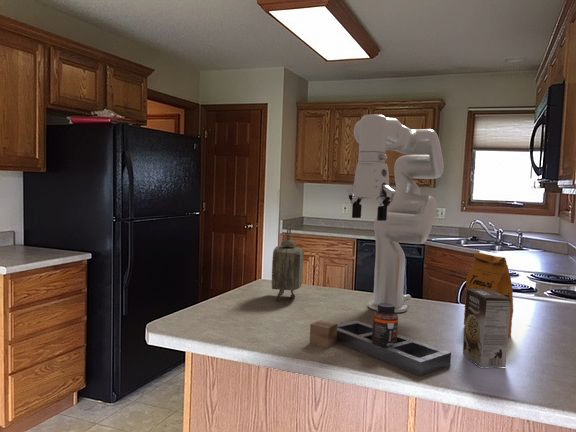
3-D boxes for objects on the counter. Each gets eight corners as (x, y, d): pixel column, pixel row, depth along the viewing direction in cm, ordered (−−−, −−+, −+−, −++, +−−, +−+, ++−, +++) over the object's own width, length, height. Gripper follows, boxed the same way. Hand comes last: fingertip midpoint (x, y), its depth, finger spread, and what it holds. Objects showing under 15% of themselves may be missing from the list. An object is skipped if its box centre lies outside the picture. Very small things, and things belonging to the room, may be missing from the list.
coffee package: (487, 339, 126) (493, 258, 125) (458, 326, 138) (463, 251, 137) (518, 337, 129) (523, 258, 128) (486, 324, 141) (491, 251, 139)
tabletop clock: (277, 292, 172) (280, 224, 170) (302, 294, 170) (305, 225, 169) (270, 302, 157) (273, 227, 156) (297, 304, 156) (300, 229, 155)
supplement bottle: (396, 356, 111) (399, 308, 110) (371, 353, 112) (373, 306, 111) (396, 347, 117) (398, 302, 116) (371, 345, 118) (374, 300, 117)
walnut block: (319, 338, 121) (320, 319, 121) (336, 343, 119) (337, 323, 118) (309, 344, 117) (310, 324, 117) (327, 348, 115) (328, 328, 114)
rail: (326, 337, 122) (327, 326, 122) (356, 331, 129) (357, 320, 129) (420, 376, 99) (420, 362, 99) (450, 365, 106) (451, 352, 106)
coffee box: (461, 354, 114) (465, 288, 113) (486, 354, 115) (491, 288, 114) (479, 368, 105) (484, 297, 104) (507, 368, 106) (512, 297, 105)
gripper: (404, 159, 130) (401, 221, 131) (358, 160, 143) (356, 216, 144) (386, 157, 125) (383, 221, 126) (340, 158, 139) (338, 217, 140)
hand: (368, 219), depth 135 cm, fingers open, 9 cm apart
